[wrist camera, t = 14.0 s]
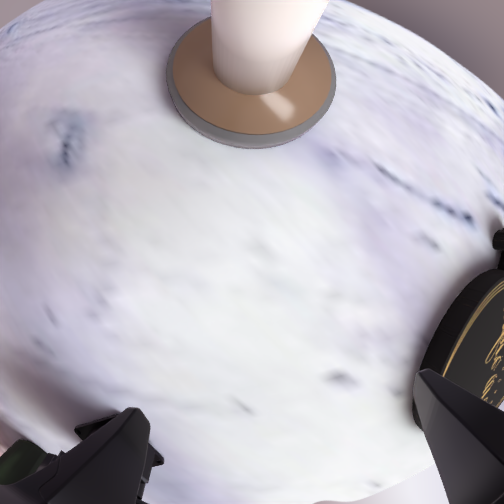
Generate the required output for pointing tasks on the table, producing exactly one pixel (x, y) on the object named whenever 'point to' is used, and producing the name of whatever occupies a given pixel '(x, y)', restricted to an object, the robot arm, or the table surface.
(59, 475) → the robot arm
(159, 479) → the table surface
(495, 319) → the decorative sign
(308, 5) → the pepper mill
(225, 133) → the display plinth
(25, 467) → the potion bottle
